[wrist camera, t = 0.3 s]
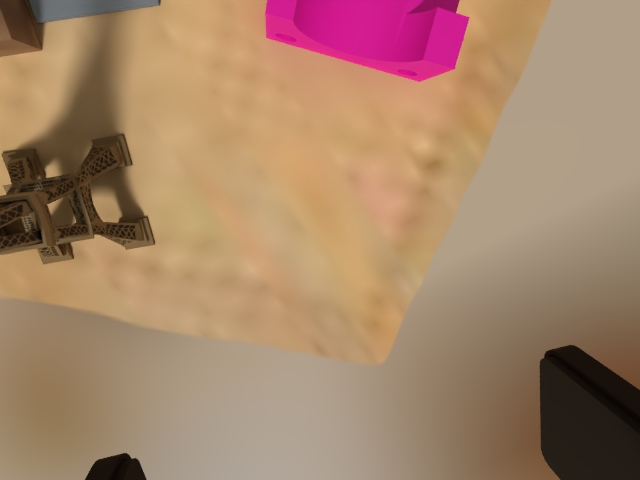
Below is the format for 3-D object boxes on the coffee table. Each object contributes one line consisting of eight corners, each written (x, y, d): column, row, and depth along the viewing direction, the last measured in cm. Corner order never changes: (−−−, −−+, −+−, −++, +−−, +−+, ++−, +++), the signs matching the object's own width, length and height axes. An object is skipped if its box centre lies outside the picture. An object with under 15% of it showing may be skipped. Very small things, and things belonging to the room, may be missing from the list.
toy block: (437, 12, 36) (480, -19, 28) (418, 81, 37) (454, 69, 30) (280, -39, 33) (283, -88, 26) (266, 38, 34) (265, 12, 27)
